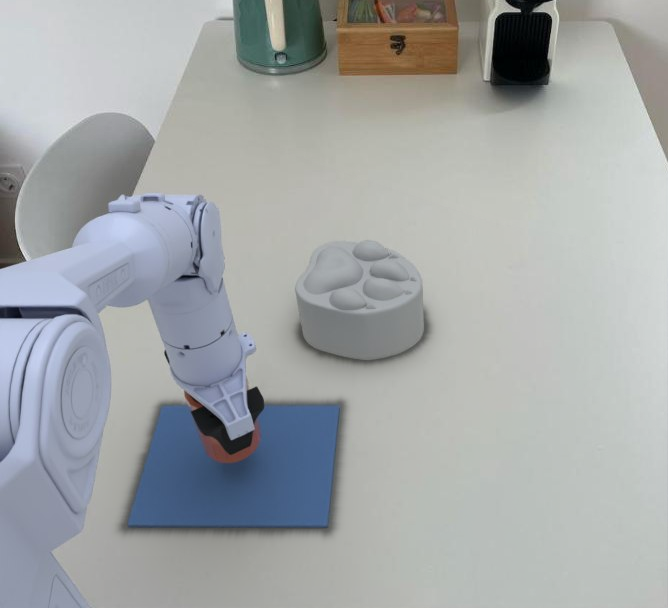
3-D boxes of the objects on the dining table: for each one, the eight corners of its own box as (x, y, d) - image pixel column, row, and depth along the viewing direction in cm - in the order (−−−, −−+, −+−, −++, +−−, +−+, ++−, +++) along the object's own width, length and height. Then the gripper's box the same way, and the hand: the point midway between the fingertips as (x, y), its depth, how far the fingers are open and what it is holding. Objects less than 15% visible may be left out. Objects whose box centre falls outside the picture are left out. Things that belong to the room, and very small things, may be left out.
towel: (339, 407, 82) (339, 405, 81) (327, 527, 72) (327, 525, 72) (163, 407, 82) (162, 405, 82) (128, 527, 73) (127, 524, 72)
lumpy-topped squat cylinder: (327, 280, 95) (320, 224, 89) (435, 300, 92) (434, 244, 86) (294, 346, 88) (283, 290, 82) (409, 370, 85) (406, 314, 79)
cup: (236, 473, 72) (219, 419, 66) (191, 448, 74) (170, 394, 68) (272, 428, 75) (259, 374, 70) (228, 406, 77) (211, 351, 72)
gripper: (279, 362, 60) (301, 463, 69) (212, 249, 70) (239, 352, 79) (188, 403, 58) (223, 502, 67) (131, 280, 67) (169, 382, 76)
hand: (227, 423), depth 73 cm, fingers closed on cup, 5 cm apart
